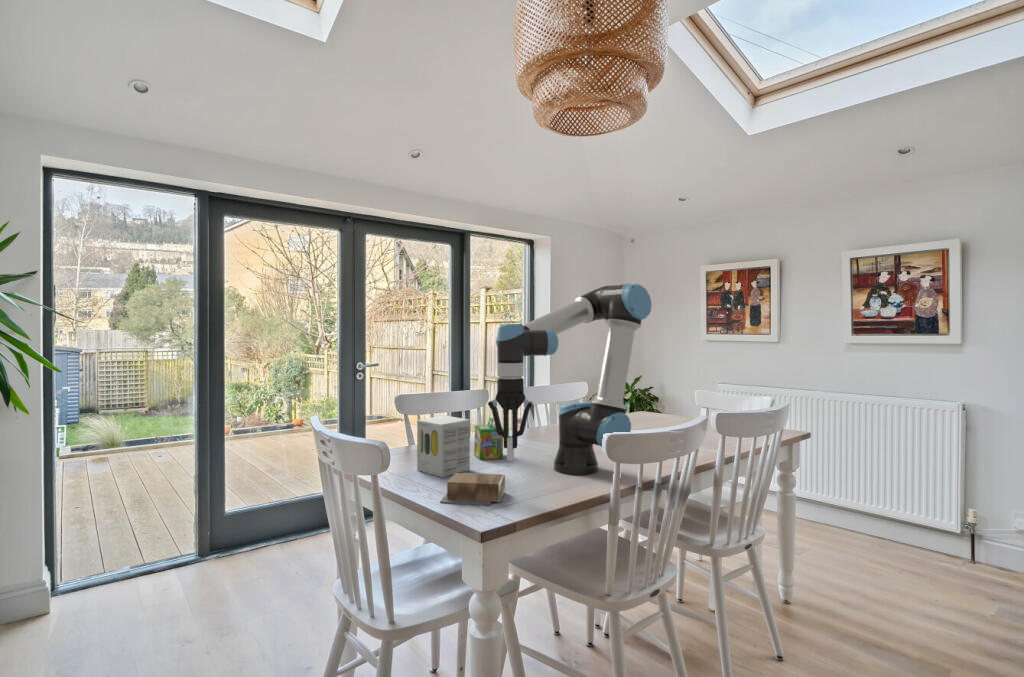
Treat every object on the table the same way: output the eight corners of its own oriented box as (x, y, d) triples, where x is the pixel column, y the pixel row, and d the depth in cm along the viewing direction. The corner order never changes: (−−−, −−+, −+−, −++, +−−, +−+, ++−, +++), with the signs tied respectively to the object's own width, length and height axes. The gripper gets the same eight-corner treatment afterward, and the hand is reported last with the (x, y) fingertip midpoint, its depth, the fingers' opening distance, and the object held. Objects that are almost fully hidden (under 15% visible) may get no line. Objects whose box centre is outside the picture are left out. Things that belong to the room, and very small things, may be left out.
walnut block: (505, 474, 161) (455, 472, 163) (499, 484, 151) (447, 481, 153) (504, 491, 161) (455, 489, 163) (499, 502, 151) (447, 499, 153)
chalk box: (473, 455, 209) (474, 416, 208) (496, 453, 211) (497, 415, 211) (479, 460, 200) (479, 420, 199) (503, 459, 203) (503, 419, 202)
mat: (498, 488, 166) (498, 487, 166) (489, 505, 150) (489, 504, 150) (453, 486, 167) (453, 485, 167) (440, 503, 152) (440, 501, 152)
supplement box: (415, 470, 186) (415, 419, 185) (444, 463, 196) (444, 415, 195) (442, 477, 177) (442, 424, 177) (470, 469, 187) (470, 419, 187)
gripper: (534, 376, 158) (534, 457, 159) (490, 375, 160) (490, 455, 161) (531, 379, 151) (531, 463, 151) (485, 378, 153) (485, 461, 153)
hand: (510, 459), depth 156 cm, fingers closed
